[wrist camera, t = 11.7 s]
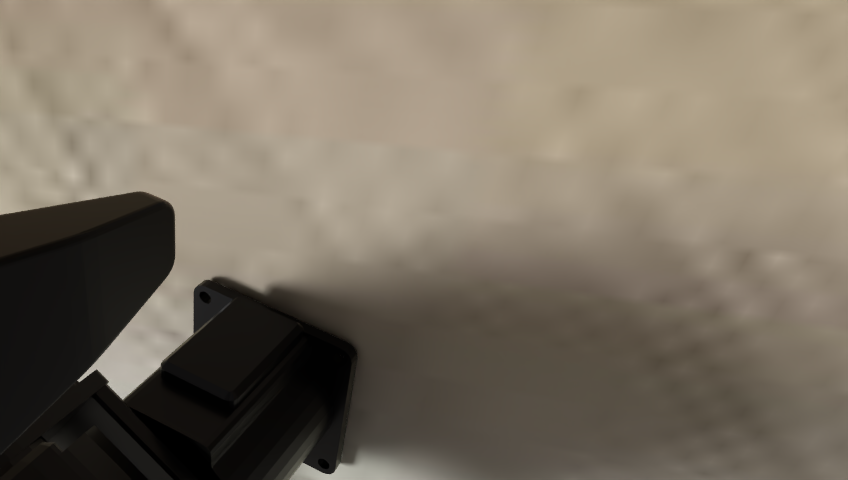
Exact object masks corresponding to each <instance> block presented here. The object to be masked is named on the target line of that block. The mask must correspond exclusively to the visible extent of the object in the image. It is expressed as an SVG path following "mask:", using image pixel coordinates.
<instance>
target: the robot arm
mask: <svg viewBox="0 0 848 480" xmlns="http://www.w3.org/2000/svg"><path fill="white" fill-rule="evenodd" d="M174 260H175V213H174V209H173V207H172V205H171V204H170V203H169V202H167V201H165V200H163V199H161V198H158V197H156V196H154V195H151V194H149V193H146V192H133V193H127V194H121V195H115V196H109V197H103V198H97V199H92V200H86V201H80V202H74V203H68V204H62V205H56V206H50V207H45V208H39V209H33V210H27V211H21V212H15V213H9V214H4V215H0V480H289V479H290V478H291V477H292V475H293V474H294V473H295V472H296V470H297V469H298V468H299V466H300V465H301V464H302V463H305V464H307V465H309V466H311V467H313V468H315V469H317V470H319V471H321V472H323V473H326V474H332V473H334V471H335V470H336V469H337V467H338V466H339V464H340V461H341V455H342V449H343V443H344V436H345V430H346V424H347V418H348V412H349V406H350V400H351V394H352V387H353V381H354V375H355V369H356V363H357V352H356V350H355V348H354V347H353V346H352V345H351V344H349V343H348V342H346V341H344V340H342V339H340V338H337V337H335V336H333V335H331V334H328V333H326V332H324V331H322V330H320V329H317V328H315V327H313V326H311V325H309V324H306V323H304V322H302V321H300V320H297V319H295V318H293V317H291V316H289V315H286V314H284V313H282V312H280V311H278V310H275V309H273V308H271V307H269V306H267V305H264V304H262V303H260V302H258V301H255V300H253V299H251V298H249V297H247V296H244V295H242V294H240V293H238V292H236V291H233V290H231V289H229V288H227V287H224V286H222V285H220V284H218V283H216V282H213V281H210V280H204V281H203V282H202V283H201V284H199V285H198V286H197V287H196V288H195V289H194V334H193V335H192V336H191V337H190V338H188V339H187V340H186V341H185V342H184V343H183V344H182V345H180V346H179V347H178V348H177V349H176V350H175V351H174V352H172V353H171V354H170V355H169V356H168V357H167V358H166V359H164V360H163V361H162V363H161V367H160V368H158V369H157V370H156V371H155V372H154V373H153V374H152V375H150V376H149V377H148V378H147V379H146V380H145V381H144V382H143V383H141V384H140V385H139V386H138V387H137V388H136V389H135V390H133V391H132V392H131V393H130V394H129V395H128V396H127V397H126V398H124V399H123V400H122V399H121V398H120V397H119V396H118V395H117V394H116V393H115V392H114V391H113V390H112V389H111V388H110V387H109V386H108V385H107V383H108V382H109V381H108V380H107V379H106V378H105V377H104V376H103V375H102V374H101V373H100V372H99V371H98V370H95V371H94V372H93V373H91V374H90V375H89V376H87V377H86V378H85V379H83V380H82V381H81V382H78V381H77V380H78V379H79V378H80V377H81V376H82V375H83V374H84V373H85V372H86V371H87V370H88V369H89V368H90V367H91V366H92V365H93V364H94V363H95V362H96V361H97V359H98V358H99V357H100V356H101V355H102V354H103V353H104V352H105V350H106V349H107V348H108V347H109V346H110V345H111V343H112V342H113V341H114V340H115V339H116V337H117V336H118V335H119V334H120V333H121V331H122V330H123V329H124V328H125V327H126V325H127V324H128V323H129V322H130V321H131V319H132V318H133V317H134V316H135V315H136V313H137V312H138V311H139V310H140V309H141V307H142V306H143V305H144V304H145V303H146V301H147V300H148V299H149V298H150V297H151V295H152V294H153V293H154V292H155V291H156V289H157V288H158V287H159V286H160V285H161V284H162V282H163V281H164V280H165V279H166V277H167V276H168V275H169V273H170V271H171V270H172V267H173V265H174ZM339 353H340V354H341V355H343V357H342V356H341V355H340V354H339Z"/></svg>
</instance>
